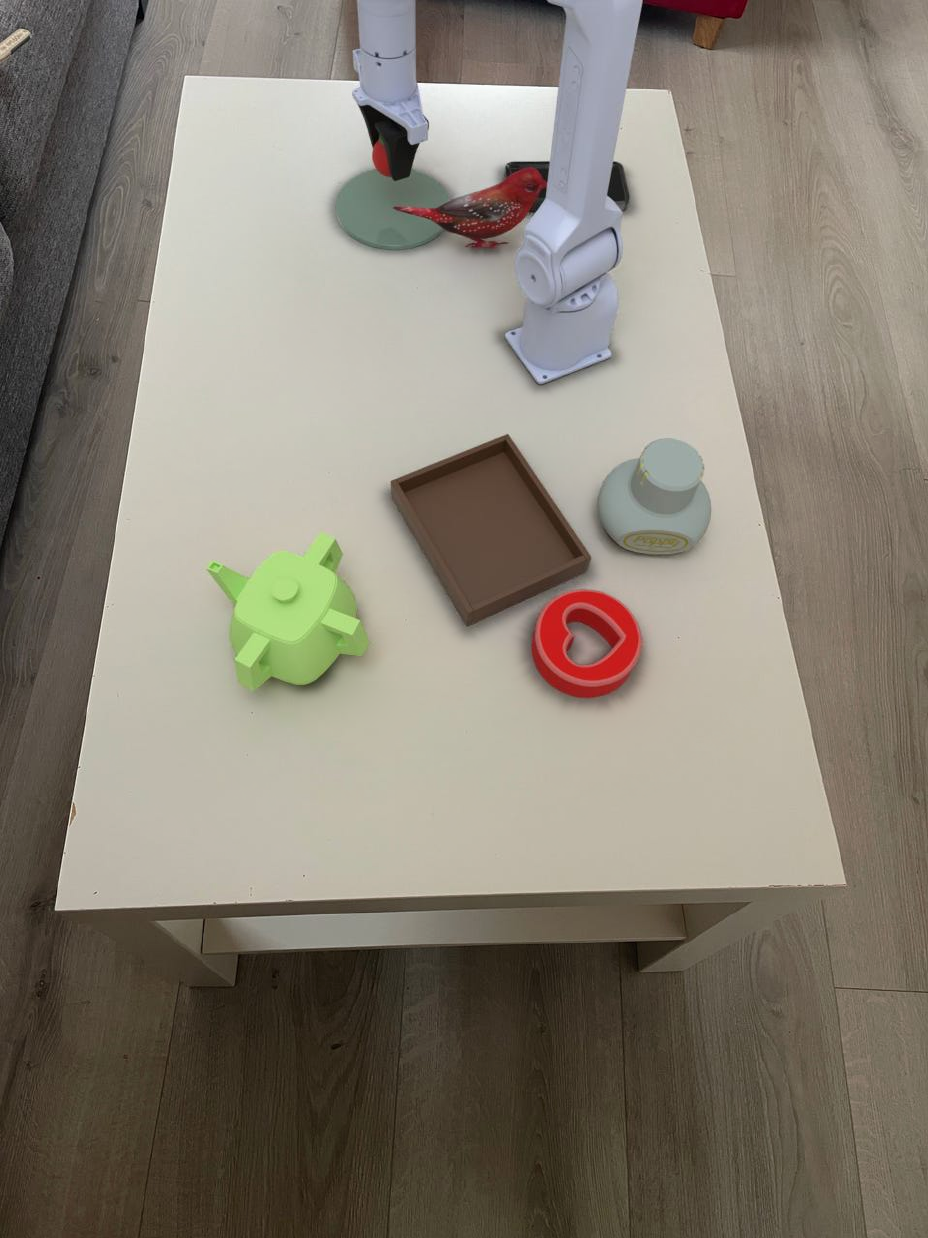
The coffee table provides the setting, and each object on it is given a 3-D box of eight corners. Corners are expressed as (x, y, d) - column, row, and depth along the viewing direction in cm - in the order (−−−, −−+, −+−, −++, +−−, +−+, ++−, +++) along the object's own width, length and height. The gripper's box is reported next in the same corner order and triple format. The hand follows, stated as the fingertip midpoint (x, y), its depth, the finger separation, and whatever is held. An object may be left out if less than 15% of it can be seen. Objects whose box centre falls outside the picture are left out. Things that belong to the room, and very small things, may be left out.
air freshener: (698, 492, 87) (729, 430, 78) (703, 562, 84) (736, 505, 75) (592, 484, 87) (611, 421, 78) (592, 554, 84) (612, 495, 75)
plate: (419, 159, 109) (419, 154, 108) (471, 228, 103) (471, 224, 103) (317, 190, 105) (317, 185, 105) (365, 263, 100) (365, 259, 99)
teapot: (343, 568, 82) (333, 511, 73) (379, 673, 77) (373, 625, 68) (221, 604, 80) (196, 549, 71) (251, 713, 75) (228, 669, 66)
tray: (505, 450, 89) (508, 433, 86) (586, 571, 83) (591, 557, 80) (391, 497, 86) (390, 480, 83) (466, 626, 79) (468, 613, 77)
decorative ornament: (652, 678, 78) (661, 664, 75) (556, 711, 76) (561, 699, 73) (608, 590, 82) (614, 574, 79) (515, 620, 80) (519, 605, 77)
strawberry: (399, 157, 101) (398, 120, 97) (415, 179, 99) (414, 142, 95) (367, 166, 100) (364, 130, 96) (382, 189, 98) (380, 152, 94)
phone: (504, 161, 107) (622, 160, 108) (503, 169, 108) (620, 168, 109) (509, 203, 104) (631, 202, 105) (509, 211, 105) (629, 211, 106)
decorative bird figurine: (543, 252, 102) (555, 176, 93) (395, 261, 100) (392, 185, 91) (539, 235, 103) (550, 158, 94) (393, 244, 101) (390, 167, 92)
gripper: (322, 12, 89) (334, 137, 101) (382, 92, 83) (388, 213, 95) (384, -3, 90) (388, 121, 102) (447, 74, 85) (444, 195, 97)
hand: (392, 164), depth 99 cm, fingers closed on strawberry, 4 cm apart
